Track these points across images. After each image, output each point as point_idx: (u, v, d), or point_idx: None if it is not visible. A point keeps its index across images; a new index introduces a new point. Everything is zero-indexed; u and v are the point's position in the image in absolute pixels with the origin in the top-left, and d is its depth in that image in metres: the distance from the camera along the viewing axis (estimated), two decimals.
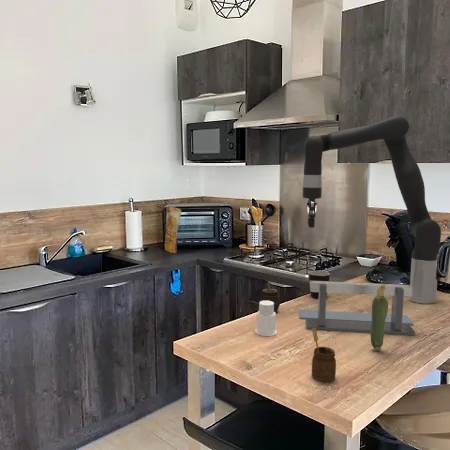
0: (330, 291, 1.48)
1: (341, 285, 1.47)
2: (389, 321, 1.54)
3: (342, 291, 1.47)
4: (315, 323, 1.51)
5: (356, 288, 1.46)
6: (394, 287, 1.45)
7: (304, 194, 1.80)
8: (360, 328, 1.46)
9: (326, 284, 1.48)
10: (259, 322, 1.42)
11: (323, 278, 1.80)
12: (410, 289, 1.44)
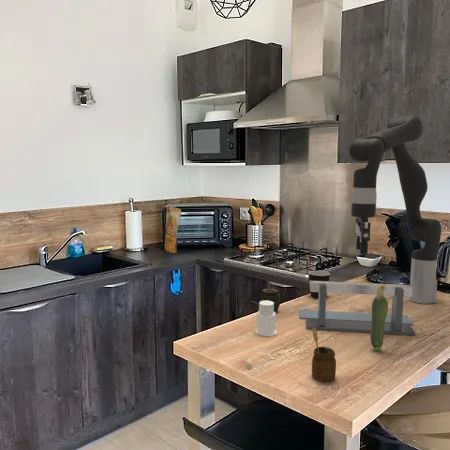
0: (330, 291, 1.48)
1: (341, 285, 1.47)
2: (389, 321, 1.54)
3: (342, 291, 1.47)
4: (315, 323, 1.51)
5: (356, 288, 1.46)
6: (394, 287, 1.45)
7: (354, 212, 1.43)
8: (360, 328, 1.46)
9: (326, 284, 1.48)
10: (259, 322, 1.42)
11: (323, 278, 1.80)
12: (410, 289, 1.44)
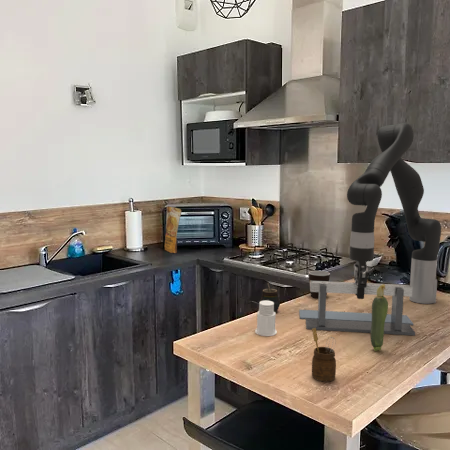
0: (330, 291, 1.48)
1: (341, 285, 1.47)
2: (389, 321, 1.54)
3: (342, 291, 1.47)
4: (315, 323, 1.51)
5: (356, 288, 1.46)
6: (394, 287, 1.45)
7: (352, 255, 1.45)
8: (360, 328, 1.46)
9: (326, 284, 1.48)
10: (259, 322, 1.42)
11: (323, 278, 1.80)
12: (410, 289, 1.44)
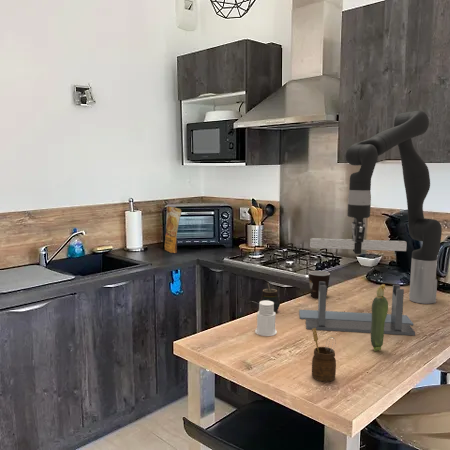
0: (329, 247, 1.56)
1: (339, 241, 1.56)
2: (389, 321, 1.54)
3: (340, 247, 1.56)
4: (315, 323, 1.51)
5: (353, 243, 1.55)
6: (389, 242, 1.53)
7: (350, 213, 1.53)
8: (360, 328, 1.46)
9: (325, 240, 1.56)
10: (259, 322, 1.43)
11: (323, 278, 1.80)
12: (404, 244, 1.53)
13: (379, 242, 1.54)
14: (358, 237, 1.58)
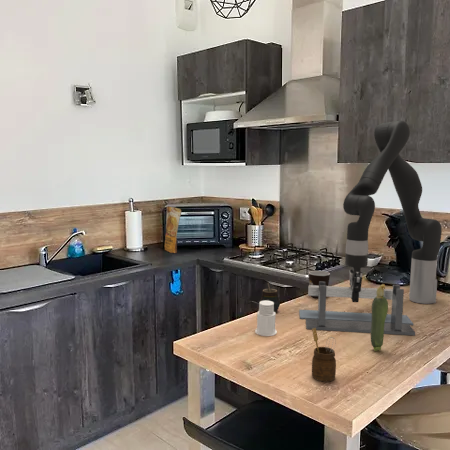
0: (327, 295, 1.58)
1: (337, 289, 1.58)
2: (389, 321, 1.54)
3: (338, 295, 1.58)
4: (315, 323, 1.51)
5: (351, 292, 1.57)
6: (386, 291, 1.55)
7: (348, 262, 1.55)
8: (360, 328, 1.46)
9: None
10: (259, 322, 1.43)
11: (323, 278, 1.80)
12: None
13: (376, 291, 1.56)
14: None
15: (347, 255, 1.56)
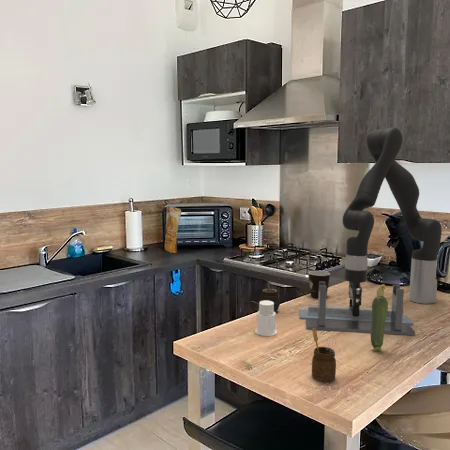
0: (326, 314, 1.59)
1: (336, 309, 1.59)
2: (389, 321, 1.54)
3: (337, 315, 1.59)
4: (315, 323, 1.51)
5: (350, 312, 1.58)
6: None
7: (347, 277, 1.56)
8: (360, 328, 1.46)
9: None
10: (259, 322, 1.43)
11: (323, 278, 1.80)
12: None
13: None
14: None
15: (346, 270, 1.56)
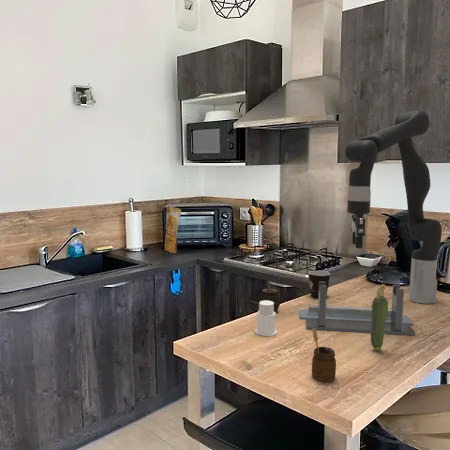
0: (326, 314, 1.59)
1: (336, 309, 1.59)
2: (389, 321, 1.54)
3: (337, 315, 1.59)
4: (315, 323, 1.51)
5: (350, 312, 1.58)
6: None
7: (350, 209, 1.53)
8: (360, 328, 1.46)
9: None
10: (259, 322, 1.43)
11: (323, 278, 1.80)
12: None
13: None
14: None
15: (349, 202, 1.53)
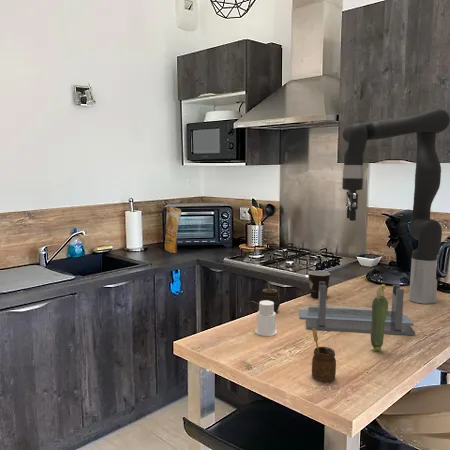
0: (326, 314, 1.59)
1: (336, 309, 1.59)
2: (389, 321, 1.54)
3: (337, 315, 1.59)
4: (315, 323, 1.51)
5: (350, 312, 1.58)
6: None
7: (344, 185, 1.70)
8: (360, 328, 1.46)
9: None
10: (259, 322, 1.43)
11: (323, 278, 1.80)
12: None
13: None
14: None
15: (344, 179, 1.71)
